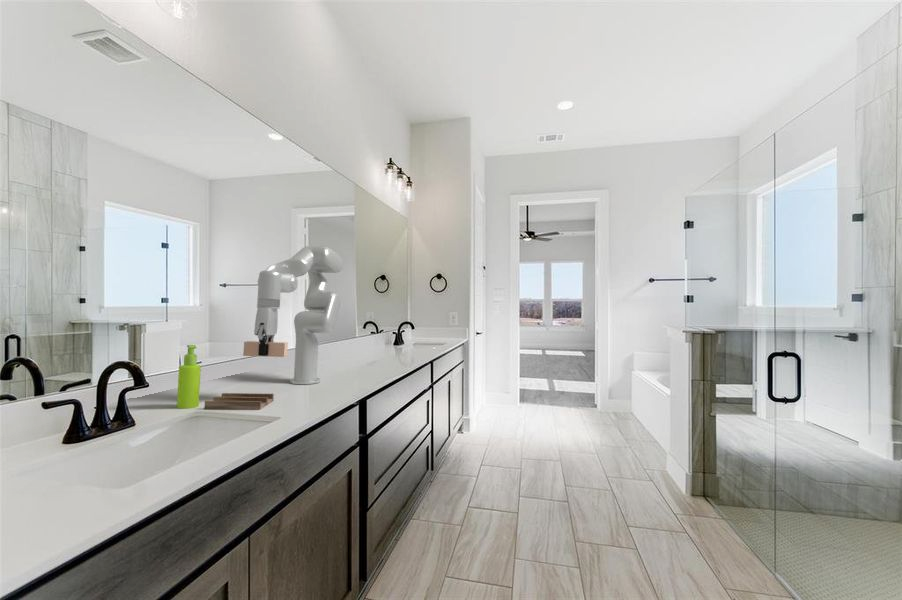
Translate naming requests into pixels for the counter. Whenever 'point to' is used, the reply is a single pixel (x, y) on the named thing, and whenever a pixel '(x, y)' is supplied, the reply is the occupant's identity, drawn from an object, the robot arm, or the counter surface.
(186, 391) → the soap dispenser
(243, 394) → the drying rack
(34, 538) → the counter surface
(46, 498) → the counter surface
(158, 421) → the counter surface
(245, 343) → the pink rectangular block
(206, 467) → the counter surface
